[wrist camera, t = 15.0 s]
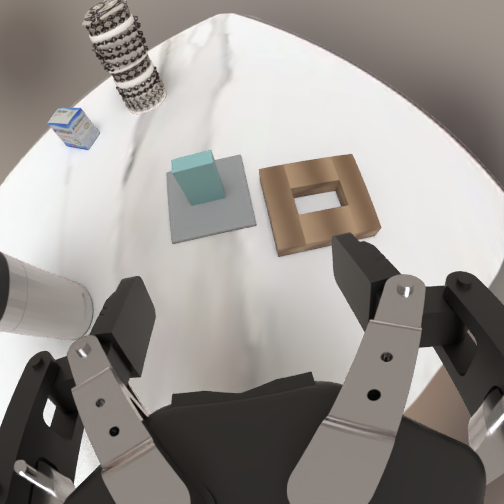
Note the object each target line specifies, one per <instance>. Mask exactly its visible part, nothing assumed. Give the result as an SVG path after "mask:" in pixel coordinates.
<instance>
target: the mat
mask: <svg viewBox="0 0 504 504" xmlns="http://www.w3.org/2000/svg"><path fill="white" fill-rule="evenodd" d="M215 163H216V166H217V169H218V172H219V175H220V178H221V181H222V184H223V187H224V193H225V198H224V199H219V200H215V201H210V202H206V203H202V204H198V205H194V206H192V205H191V204H190V202H189V200H188V199H187V197H186V195H185V194H184V192H183V190H182V189H181V187H180V185H179V184H178V182H177V180H176V179H175V177H174V175H173V174H172V171H171V172H167V173H166V175H167V192H168V206H169V218H170V230H171V240H172V243H173V244H175V243H180V242H184V241H188V240H193V239H197V238H202V237H206V236H211V235H215V234H220V233H224V232H229V231H233V230H238V229H243V228H247V227H252V226H256V222H255V217H254V213H253V208H252V204H251V199H250V195H249V190H248V186H247V181H246V177H245V172H244V168H243V164H242V159H241V155H236V156H232V157H227V158H223V159H218V160H215Z"/></svg>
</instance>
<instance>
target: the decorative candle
mask: <svg viewBox="0 0 504 504" xmlns="http://www.w3.org/2000/svg"><path fill="white" fill-rule="evenodd" d="M134 20H135V21H134ZM137 20H138V17H137V16H133V15H132V13H130V11H129V9H128V6H127V0H105V1H102V2H101V3H99V4H97V5H95V6H94V7H92V8H91V9H90V10H89V11H87V13H86V15H85V18H84V21H83V22H82V25H85V26H86V29H87V31H88V32H89V37H90V39H91V41H92V42H94V44H93V45H92V47H93V49H92V50H93V51H94V52H95V53H96V57H98V59H100V60H101V64H102V65H104V69H105V70H106V71H107V72H108V73H111V75H112V76H113V77H114V82H115V84H116V85H117V87H116V89H117V90H118V91H119V94H120V95H121V96H122V97H123V98H122V99H123V101H124V102H125V104H126V106H127V107H128V108H129V111H131V112H132V113H133V114H144V113H147V112H150V111H152V110H154V109H155V108H157V107H158V106H159V105H160V104H161V103H162V102H163V101H164V100H165V97H166V91H165V89H164V88H162V87H163V86H164V85H163V84H162V83H161V79H159V76H158V75H159V73H158V72H157V70H156V67H154V66H153V64H152V61H151V60H150V59H149V57H148V54H147V53H148V48H147V46H144V45H143V44H144V43H145V42H146V41H145V38H142V36H143V32H142V31H137V29H139V28H140V23H137V22H136V21H137ZM96 47H97V49H96ZM99 53H101V55H102V56H101V55H100V54H99Z"/></svg>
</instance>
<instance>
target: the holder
mask: <svg viewBox="0 0 504 504" xmlns="http://www.w3.org/2000/svg"><path fill="white" fill-rule="evenodd" d="M259 175H260V182H261V186H262V190H263V194H264V198H265V202H266V206H267V210H268V215H269V219H270V223H271V227H272V231H273V235H274V240H275V244H276V248H277V252H278V257H280V256H284V255H289V254H294V253H298V252H303V251H308V250H312V249H317V248H322V247H326V246H331V245H332V236H333V235H338V234H343V233H348V232H351V233H352V234H353V235H354V236H355V237H356V239H357V240H358V239H362V238H367V237H371V236H375V235H376V234H377V232H378V231H379V230H380V229H381V225H380V223H379V220H378V217H377V214H376V211H375V209H374V206H373V203H372V201H371V198H370V196H369V193H368V190H367V188H366V185H365V183H364V181H363V178H362V176H361V173H360V171H359V169H358V166H357V164H356V162H355V159H354V157H353V155H352V154H348V155H340V156H333V157H326V158H320V159H313V160H307V161H301V162H295V163H290V164H284V165H278V166H273V167H268V168H263V169H259ZM335 190H336V193H337V196H338V198H339V201H340V204H341V207H337V208H332V209H327V210H321V211H316V212H311V213H306V214H301V215H298V212H297V209H296V205H295V202H294V198H297V197H302V196H307V195H313V194H318V193H324V192H329V191H335Z"/></svg>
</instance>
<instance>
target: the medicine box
mask: <svg viewBox="0 0 504 504" xmlns="http://www.w3.org/2000/svg"><path fill="white" fill-rule="evenodd" d="M48 125H49V126H50V127H51V128H52V129H53V131H54V132H55V133H56V134H57V135H58V136H59V137H60V139H61V140H62V141H63V142H64V143H65V144H66V145H67V146H70V147H76V148H82V149H87V150H88V149H89V148H90V147H91V146H92V144H93V143H94V141H95V140H96V138H97V137H98V135H99V134H100V133H99V132H98V130H97V129H96V128H95V126H94V125H93V124H92V122H91V121H90V120H89V118H88V117H87V115H86V114H85V113H84V111H83V110H82V109H81V108H59V109H58V110H57V111H56V112H55V113H54V114H53V116H52V117H51V119H50V120H49V122H48Z"/></svg>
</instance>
